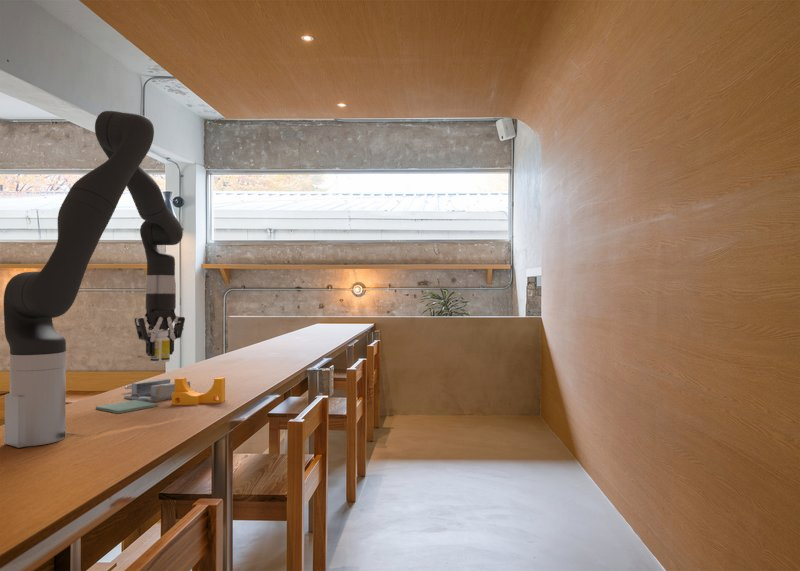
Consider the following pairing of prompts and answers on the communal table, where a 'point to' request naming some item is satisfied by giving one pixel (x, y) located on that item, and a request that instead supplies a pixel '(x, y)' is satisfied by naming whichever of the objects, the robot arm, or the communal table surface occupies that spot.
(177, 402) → the pipe clamp
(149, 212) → the robot arm
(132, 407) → the mat
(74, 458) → the communal table surface
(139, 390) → the vise
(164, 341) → the supplement bottle
